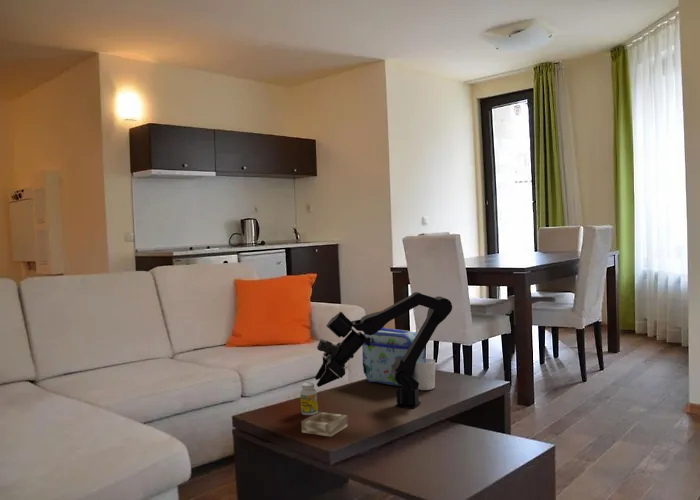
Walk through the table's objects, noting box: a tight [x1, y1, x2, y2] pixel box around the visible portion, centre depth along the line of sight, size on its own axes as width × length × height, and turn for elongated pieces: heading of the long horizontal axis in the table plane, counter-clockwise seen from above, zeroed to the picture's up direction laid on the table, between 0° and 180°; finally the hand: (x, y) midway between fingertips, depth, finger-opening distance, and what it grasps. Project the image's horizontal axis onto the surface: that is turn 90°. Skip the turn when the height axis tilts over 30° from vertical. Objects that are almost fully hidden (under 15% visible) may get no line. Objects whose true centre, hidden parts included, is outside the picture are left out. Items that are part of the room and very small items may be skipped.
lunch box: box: [361, 326, 427, 387], centre depth 231 cm, size 26×11×21 cm, turn 44°
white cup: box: [415, 358, 436, 391], centre depth 223 cm, size 8×8×10 cm
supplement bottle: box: [299, 382, 319, 416], centre depth 199 cm, size 5×5×10 cm
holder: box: [301, 411, 348, 437], centre depth 182 cm, size 10×10×3 cm
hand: (316, 382), depth 199 cm, fingers open, 9 cm apart
